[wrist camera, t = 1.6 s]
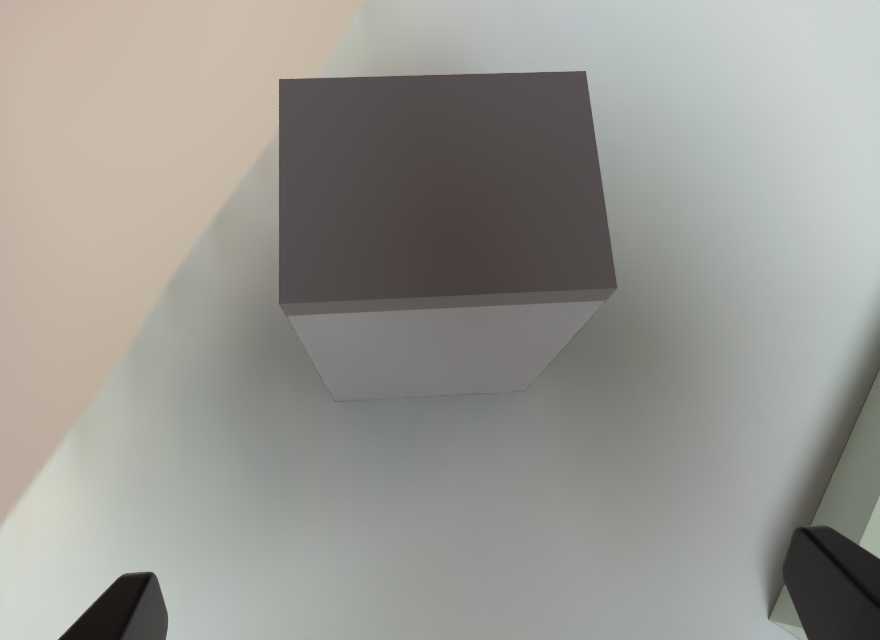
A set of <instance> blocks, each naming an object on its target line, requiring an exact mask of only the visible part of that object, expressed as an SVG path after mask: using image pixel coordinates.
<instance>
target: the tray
mask: <svg viewBox="0 0 880 640" xmlns="http://www.w3.org/2000/svg"><path fill="white" fill-rule="evenodd" d="M811 525H827V526H829V527H831V528H833V529H835V530H836V531H838V532H839V533H841V534H842V535H844V536H845V537H847V538H849V539H850V540H852V541H853V542H855V543H856V544H858V545H859V546H861V547H863V548H864V549H866V550H867V551H869V552H870V553H872V554H873V555H875V556H877V557H878V558H880V370H879V372H878V374H877V376H876V379H875V381H874V383H873V386H872V388H871V390H870V392H869V395H868V397H867V399H866V401H865V404H864V406H863V408H862V410H861V413H860V415H859V417H858V419H857V422H856V424H855V426H854V428H853V431H852V433H851V435H850V437H849V440H848V442H847V444H846V446H845V449H844V451H843V453H842V455H841V458H840V460H839V462H838V464H837V467H836V469H835V471H834V473H833V476H832V478H831V480H830V482H829V485H828V487H827V489H826V491H825V494H824V496H823V498H822V500H821V503H820V505H819V507H818V509H817V512H816V514H815V516H814V518H813V521H812V523H811ZM769 620H770V621H772V622H773V623H775V624H776V625H778V626H779V627H781V628H783V629H784V630H786V631H787V632H789V633H790V634H792V635H794V636H795V637H797V638H798V639H800V640H808V639H807V637H806V634H805V632H804V629H803V627H802V624H801V622H800V620H799V617H798V615H797V612H796V610H795V607H794V605H793V602H792V600H791V598H790V595H789V593H788V590H787V588H786V585H785V584H784V586H783V588H782V591H781V593H780V595H779V597H778V600H777V602H776V604H775V606H774V609H773V611H772V613H771V615H770V618H769Z"/></svg>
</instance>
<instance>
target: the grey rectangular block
mask: <svg viewBox="0 0 880 640" xmlns="http://www.w3.org/2000/svg"><path fill="white" fill-rule="evenodd" d="M616 289H617V285H616V278H615V271H614V264H613V257H612V250H611V243H610V236H609V229H608V222H607V215H606V208H605V202H604V195H603V188H602V181H601V174H600V167H599V160H598V153H597V146H596V139H595V132H594V125H593V119H592V112H591V105H590V98H589V91H588V84H587V77H586V71H576V72H538V73H500V74H462V75H425V76H387V77H349V78H311V79H279V304H280V306H281V308H282V310H283V311H284V313H285V315H286V317H287V318H288V320H289V322H290V324H291V325H292V327H293V329H294V331H295V332H296V334H297V336H298V338H299V339H300V341H301V343H302V345H303V346H304V348H305V350H306V352H307V353H308V355H309V357H310V359H311V360H312V362H313V364H314V366H315V367H316V369H317V371H318V373H319V374H320V376H321V378H322V380H323V381H324V383H325V385H326V387H327V389H328V390H329V392H330V394H331V396H332V397H333V399H334V401H335V402H338V401H356V400H374V399H391V398H409V397H427V396H445V395H463V394H480V393H498V392H516V391H525V390H526V389H527V388H528V387H529V386H530V385H531V384H532V383H533V382H534V380H535V379H536V378H537V377H538V376H539V375H540V374H541V373H542V371H543V370H544V369H545V368H546V367H547V366H548V365H549V364H550V362H551V361H552V360H553V359H554V358H555V357H556V356H557V355H558V354H559V352H560V351H561V350H562V349H563V348H564V347H565V346H566V345H567V343H568V342H569V341H570V340H571V339H572V338H573V337H574V336H575V335H576V333H577V332H578V331H579V330H580V329H581V328H582V327H583V326H584V324H585V323H586V322H587V321H588V320H589V319H590V318H591V317H592V316H593V314H594V313H595V312H596V311H597V310H598V309H599V308H600V307H601V305H602V304H603V303H604V302H605V301H606V300H607V299H608V298H609V297H610V295H611V294H612V293H613V292H614V291H615V290H616Z"/></svg>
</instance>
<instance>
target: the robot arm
mask: <svg viewBox="0 0 880 640" xmlns="http://www.w3.org/2000/svg"><path fill="white" fill-rule="evenodd" d="M782 572H783V579H784V582H785V585H786V588H787V590H788V593H789V595H790V598H791V600H792V602H793V605H794V607H795V610H796V612H797V615H798V617H799V620H800V622H801V624H802V627H803V629H804V632H805V634H806V637H807V639H808V640H880V558H878V557H877V556H875V555H873V554H872V553H870V552H869V551H867V550H866V549H864V548H863V547H861V546H859V545H858V544H856V543H855V542H853V541H852V540H850V539H849V538H847V537H845V536H844V535H842V534H841V533H839V532H838V531H836V530H835V529H833V528H831V527H829V526H827V525H808V526H800V527H798V528H796V529H795V530H794V532H793V535H792V538H791V541H790V544H789V547H788V550H787V554H786V557H785V560H784V563H783V571H782ZM167 629H168V613H167V609H166V606H165V602H164V599H163V595H162V592H161V589H160V585H159V582H158V579H157V577H156V575H155V574H154V573H153V572H138V573H126V574H123V575H122V576H120V577H119V578H118V579H117V580H116V581H115V582H114V583H113V584H112V585H111V586H110V587H109V588H108V589H107V590H106V591H105V592H104V593H103V594H102V595H101V596H100V597H99V598H98V599H97V600H96V601H95V602H94V603H93V604H92V605H91V606H90V607H89V608H88V609H87V610H86V611H85V612H84V613H83V615H82V616H81V617H80V618H79V619H78V620H77V621H76V622H75V623H74V624H73V625H72V626H71V627H70V628H69V629H68V630H67V631H66V632H65V633H64V634H63V635H62V636H61V637H60V638H59V639H58V640H166V635H167Z"/></svg>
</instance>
